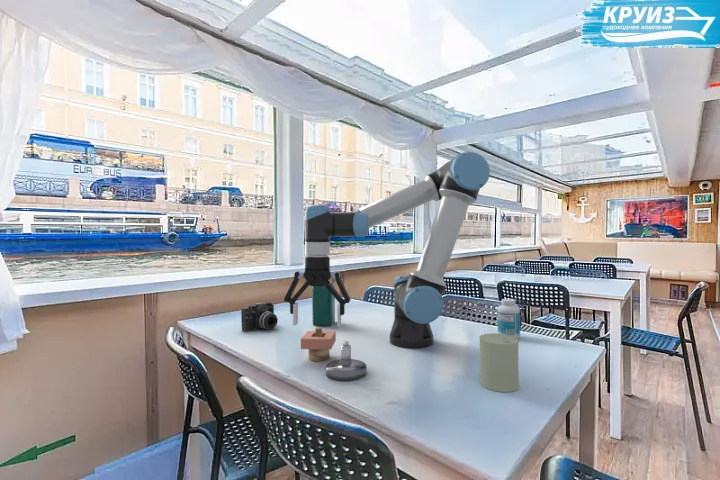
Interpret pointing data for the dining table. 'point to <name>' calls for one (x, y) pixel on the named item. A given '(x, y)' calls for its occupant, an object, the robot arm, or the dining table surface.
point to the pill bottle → (509, 318)
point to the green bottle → (323, 306)
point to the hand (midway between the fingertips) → (317, 325)
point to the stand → (319, 350)
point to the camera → (258, 317)
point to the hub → (346, 366)
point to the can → (499, 362)
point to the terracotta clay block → (318, 340)
